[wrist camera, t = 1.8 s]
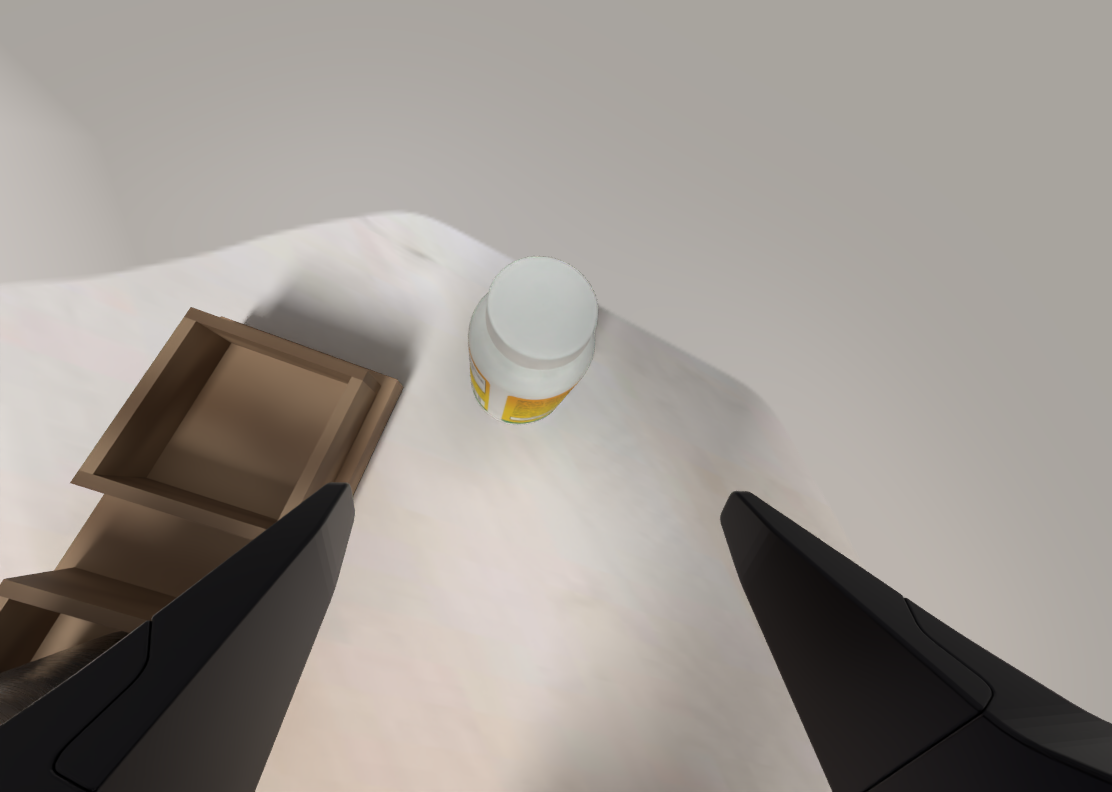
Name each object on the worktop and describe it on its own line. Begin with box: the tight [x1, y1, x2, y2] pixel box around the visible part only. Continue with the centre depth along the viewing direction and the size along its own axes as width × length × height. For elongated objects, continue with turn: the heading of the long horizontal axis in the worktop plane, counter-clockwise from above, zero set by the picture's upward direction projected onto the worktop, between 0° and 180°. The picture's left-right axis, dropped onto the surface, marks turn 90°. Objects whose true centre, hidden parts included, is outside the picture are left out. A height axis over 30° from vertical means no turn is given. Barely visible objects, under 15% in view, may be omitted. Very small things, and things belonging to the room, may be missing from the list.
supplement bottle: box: [468, 256, 598, 425], centre depth 18 cm, size 5×5×10 cm
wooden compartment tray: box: [0, 307, 403, 673], centre depth 16 cm, size 20×9×4 cm, turn 162°
